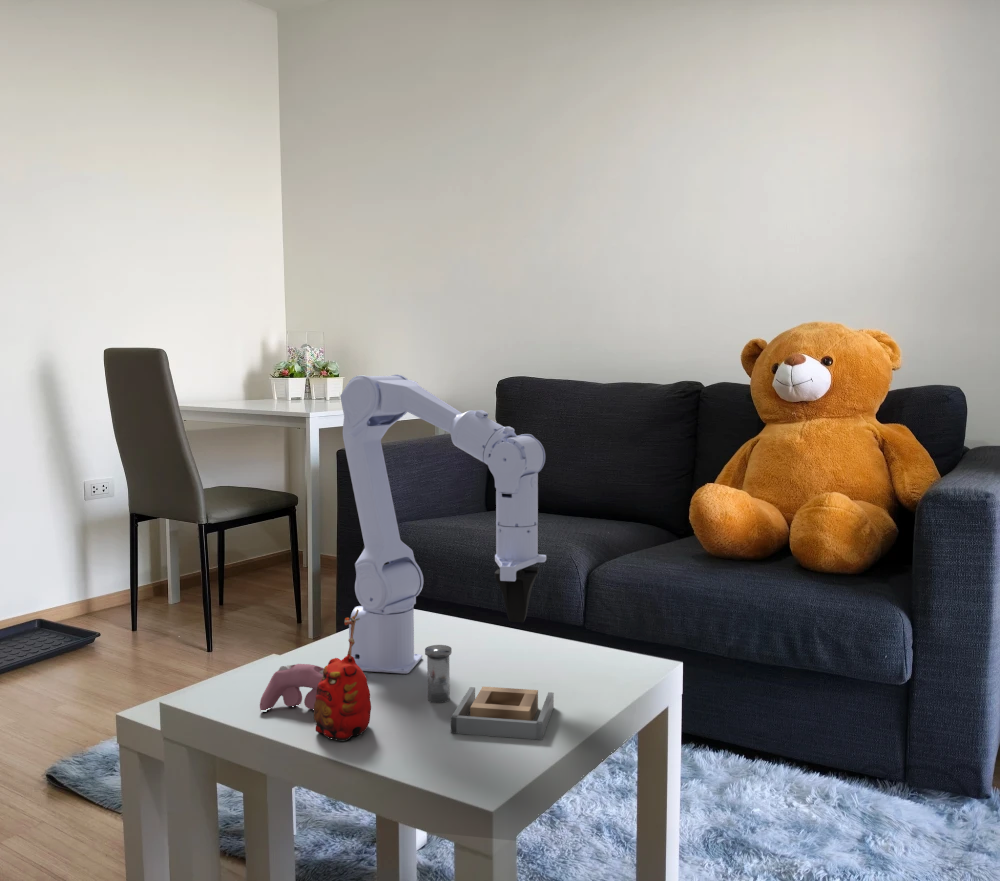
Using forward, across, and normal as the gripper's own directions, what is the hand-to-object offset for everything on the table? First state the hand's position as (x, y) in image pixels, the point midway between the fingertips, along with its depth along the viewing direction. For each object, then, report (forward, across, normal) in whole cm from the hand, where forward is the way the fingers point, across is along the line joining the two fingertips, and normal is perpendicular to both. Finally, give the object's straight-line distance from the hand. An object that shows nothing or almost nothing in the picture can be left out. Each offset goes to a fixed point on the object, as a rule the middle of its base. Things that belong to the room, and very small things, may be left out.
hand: (517, 620), depth 125 cm
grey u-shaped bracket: (+10, -10, 0) cm, 14 cm away
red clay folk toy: (+10, -17, +19) cm, 28 cm away
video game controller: (+10, -12, +27) cm, 31 cm away
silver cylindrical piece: (+10, -4, +10) cm, 15 cm away
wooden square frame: (+10, -9, 0) cm, 14 cm away
